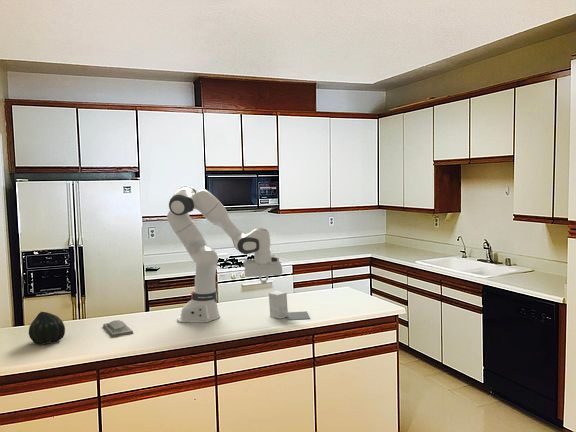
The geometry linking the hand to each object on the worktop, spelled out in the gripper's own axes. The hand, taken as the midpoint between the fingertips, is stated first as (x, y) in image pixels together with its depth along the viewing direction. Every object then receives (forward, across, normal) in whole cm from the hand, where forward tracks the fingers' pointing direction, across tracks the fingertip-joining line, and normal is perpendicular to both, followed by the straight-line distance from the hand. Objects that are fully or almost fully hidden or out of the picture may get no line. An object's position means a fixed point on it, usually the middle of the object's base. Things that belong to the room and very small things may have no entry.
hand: (263, 283), depth 248 cm
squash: (+16, -104, -21) cm, 107 cm away
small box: (+18, +7, 0) cm, 20 cm away
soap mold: (+17, -75, -9) cm, 77 cm away
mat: (+19, +17, -1) cm, 25 cm away
